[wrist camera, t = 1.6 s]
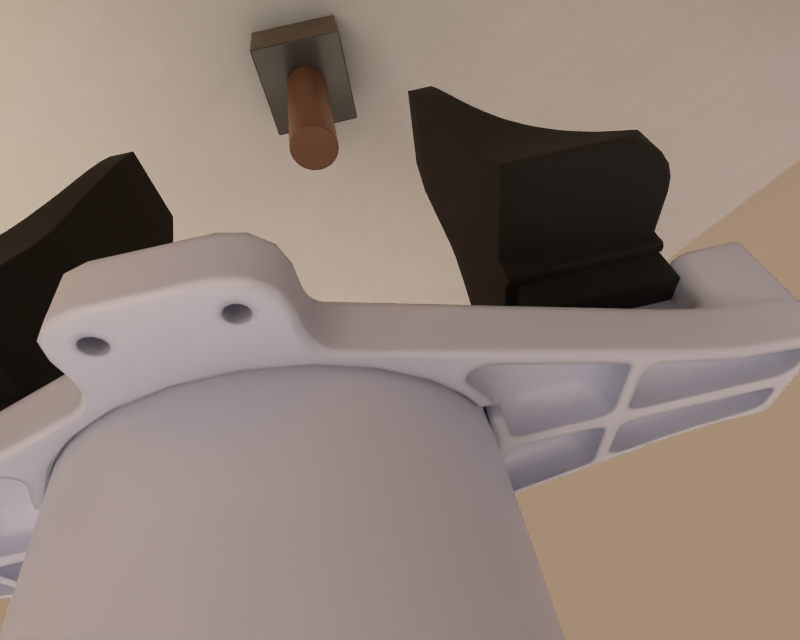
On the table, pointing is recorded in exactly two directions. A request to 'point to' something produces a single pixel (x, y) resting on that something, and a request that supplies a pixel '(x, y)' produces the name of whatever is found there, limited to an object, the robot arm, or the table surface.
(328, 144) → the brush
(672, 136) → the table surface
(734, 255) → the robot arm
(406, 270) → the table surface
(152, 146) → the table surface
